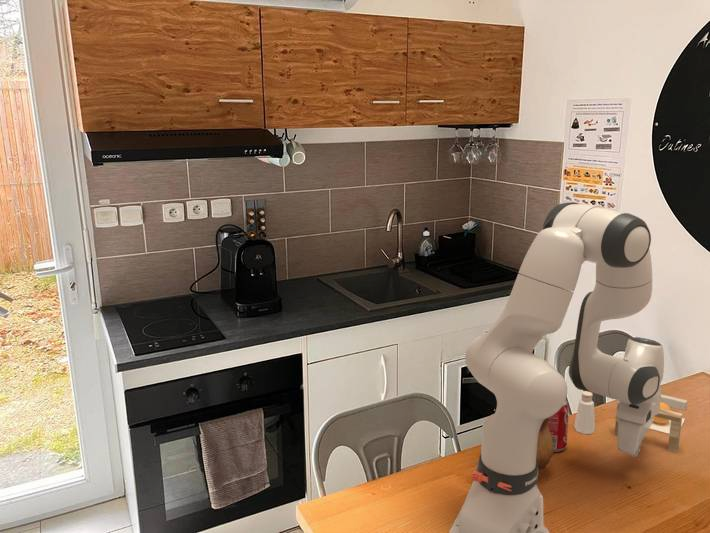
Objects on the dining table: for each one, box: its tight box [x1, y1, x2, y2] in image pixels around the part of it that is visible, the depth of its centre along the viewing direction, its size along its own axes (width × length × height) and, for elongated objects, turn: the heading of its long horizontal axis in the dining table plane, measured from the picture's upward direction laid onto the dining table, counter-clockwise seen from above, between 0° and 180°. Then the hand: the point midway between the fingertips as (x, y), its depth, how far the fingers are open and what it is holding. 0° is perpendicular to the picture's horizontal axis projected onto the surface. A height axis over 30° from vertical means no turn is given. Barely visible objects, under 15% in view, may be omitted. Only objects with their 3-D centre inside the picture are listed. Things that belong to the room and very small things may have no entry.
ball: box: [653, 402, 672, 424], centre depth 165 cm, size 6×6×6 cm
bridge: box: [614, 400, 683, 454], centre depth 154 cm, size 3×15×10 cm, turn 52°
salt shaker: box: [573, 390, 596, 435], centre depth 161 cm, size 5×5×11 cm
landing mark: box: [649, 417, 686, 435], centre depth 166 cm, size 12×12×1 cm
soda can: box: [548, 398, 570, 453], centre depth 152 cm, size 7×7×13 cm
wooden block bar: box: [660, 393, 688, 411], centre depth 176 cm, size 2×10×2 cm, turn 52°
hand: (634, 453), depth 145 cm, fingers closed
